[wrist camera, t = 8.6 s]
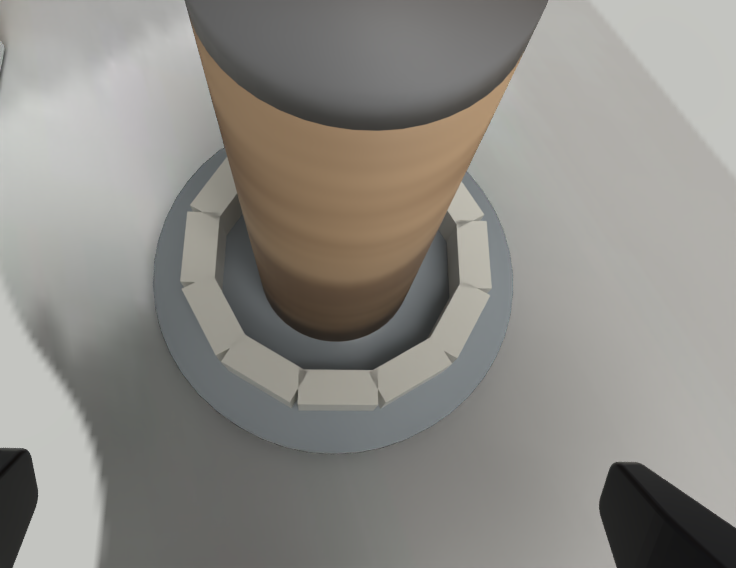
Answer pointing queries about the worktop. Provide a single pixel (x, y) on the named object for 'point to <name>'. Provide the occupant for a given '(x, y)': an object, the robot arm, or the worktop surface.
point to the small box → (1, 53)
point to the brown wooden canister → (352, 137)
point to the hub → (324, 358)
